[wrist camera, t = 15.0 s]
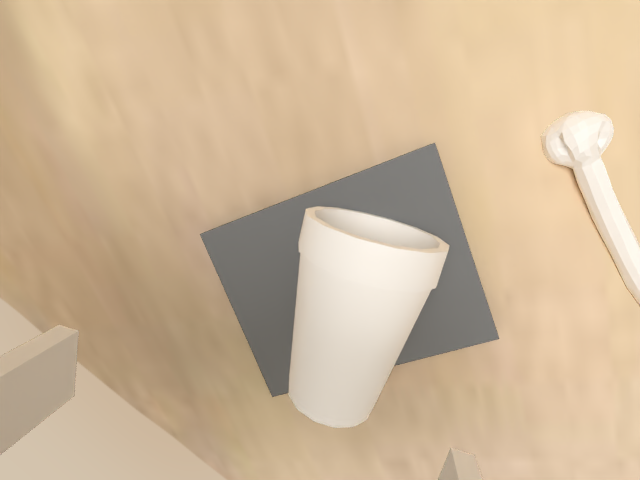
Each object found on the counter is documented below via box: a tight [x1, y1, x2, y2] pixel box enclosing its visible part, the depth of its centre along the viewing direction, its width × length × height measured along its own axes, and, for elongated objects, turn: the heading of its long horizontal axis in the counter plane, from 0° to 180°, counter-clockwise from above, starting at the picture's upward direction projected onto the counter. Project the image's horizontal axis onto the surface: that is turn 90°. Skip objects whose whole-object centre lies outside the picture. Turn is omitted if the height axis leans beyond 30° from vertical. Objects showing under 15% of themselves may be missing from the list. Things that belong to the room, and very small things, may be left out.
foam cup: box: [289, 206, 450, 428], centre depth 25 cm, size 10×9×13 cm
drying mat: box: [200, 143, 499, 397], centre depth 30 cm, size 20×16×1 cm
